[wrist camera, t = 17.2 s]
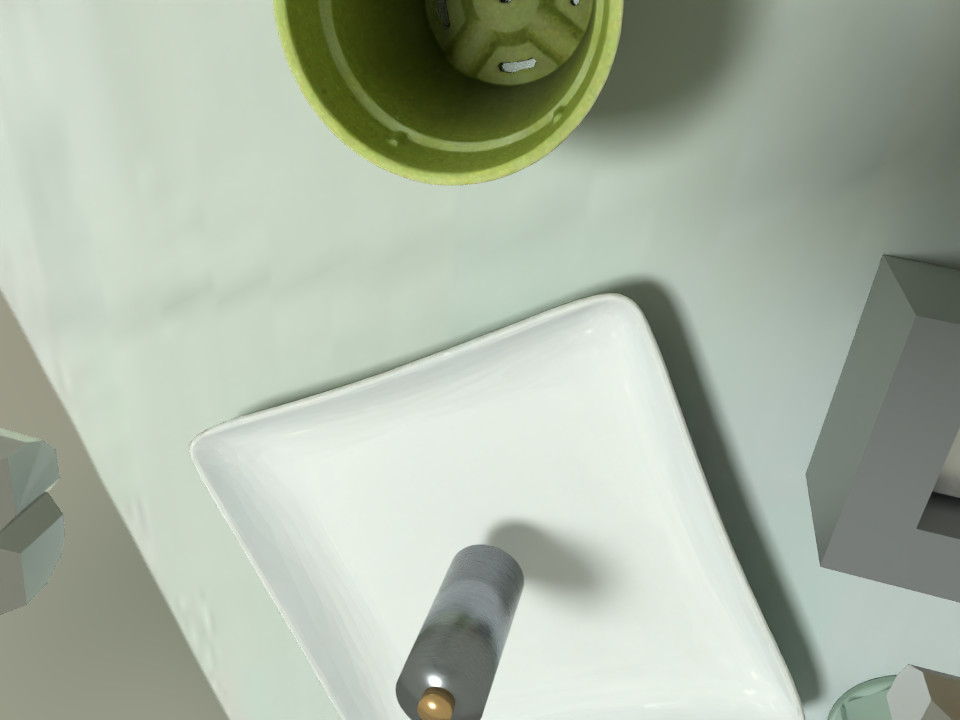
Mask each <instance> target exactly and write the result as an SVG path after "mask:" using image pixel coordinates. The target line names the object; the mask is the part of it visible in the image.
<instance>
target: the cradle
mask: <svg viewBox="0 0 960 720" xmlns="http://www.w3.org/2000/svg"><path fill="white" fill-rule="evenodd" d="M959 428H960V270H957V269H952V268H947V267H942V266H937V265H932V264H927V263H922V262H917V261H912V260H906V259H901V258H896V257H891V256H886V255H883V257H882V259H881V262H880V265H879V268H878V271H877V274H876V276H875V279H874V282H873V285H872V288H871V291H870V293H869V296H868V299H867V302H866V305H865V308H864V311H863V313H862V316H861V319H860V322H859V325H858V328H857V330H856V333H855V336H854V339H853V342H852V345H851V347H850V350H849V353H848V356H847V359H846V362H845V365H844V367H843V370H842V373H841V376H840V379H839V382H838V384H837V387H836V390H835V393H834V396H833V399H832V401H831V404H830V407H829V410H828V413H827V416H826V418H825V421H824V424H823V427H822V430H821V433H820V436H819V438H818V441H817V444H816V447H815V450H814V453H813V455H812V458H811V461H810V464H809V467H808V470H807V472H806V479H807V486H808V492H809V498H810V505H811V511H812V517H813V524H814V530H815V536H816V543H817V549H818V555H819V562H820V567H824V568H828V569H831V570H835V571H839V572H843V573H847V574H851V575H855V576H859V577H863V578H866V579H870V580H874V581H878V582H882V583H886V584H890V585H894V586H898V587H902V588H905V589H909V590H913V591H917V592H921V593H925V594H929V595H933V596H937V597H941V598H944V599H948V600H952V601H956V602H960V498H958V497H954V496H950V495H945V494H941V493H937V492H933V488H934V486H935V484H936V481H937V479H938V477H939V474H940V472H941V470H942V467H943V465H944V463H945V461H946V458H947V456H948V454H949V451H950V449H951V447H952V444H953V442H954V440H955V437H956V435H957V433H958V430H959Z"/></svg>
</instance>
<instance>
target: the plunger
mask: <svg viewBox="0 0 960 720" xmlns="http://www.w3.org/2000/svg"><path fill="white" fill-rule="evenodd" d="M933 492H937V493H941V494H945V495H950V496H954V497H958V498H960V428H959V430H958V433H957V435H956V437H955V440H954V442H953V444H952V447H951V449H950V451H949V454H948V456H947V458H946V461H945V463H944V465H943V467H942V470H941V472H940V474H939V477H938V479H937V481H936V484H935V486H934V488H933Z"/></svg>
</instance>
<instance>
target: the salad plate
mask: <svg viewBox="0 0 960 720" xmlns="http://www.w3.org/2000/svg"><path fill="white" fill-rule="evenodd" d="M189 451H190V456H191V459H192V461H193V463H194V466H195V468H196V469H197V471H198V473H199V475H200V477H201V479H202V481H203V483H204V484H205V486H206V488H207V489H208V491H209V493H210V495H211V496H212V498H213V500H214V502H215V504H216V505H217V507H218V509H219V510H220V512H221V514H222V515H223V517H224V519H225V520H226V522H227V524H228V525H229V527H230V529H231V530H232V532H233V534H234V535H235V537H236V539H237V540H238V542H239V544H240V545H241V547H242V549H243V550H244V552H245V554H246V555H247V557H248V559H249V561H250V562H251V564H252V566H253V567H254V569H255V571H256V572H257V574H258V576H259V578H260V579H261V581H262V583H263V584H264V586H265V588H266V589H267V591H268V593H269V594H270V596H271V598H272V600H273V601H274V603H275V605H276V607H277V608H278V610H279V612H280V614H281V615H282V617H283V619H284V620H285V622H286V624H287V625H288V627H289V629H290V631H291V632H292V634H293V636H294V637H295V639H296V641H297V642H298V644H299V646H300V648H301V649H302V651H303V653H304V655H305V656H306V658H307V660H308V662H309V663H310V665H311V667H312V669H313V670H314V672H315V674H316V676H317V677H318V679H319V681H320V683H321V684H322V686H323V688H324V689H325V691H326V693H327V695H328V696H329V698H330V700H331V702H332V704H333V705H334V707H335V709H336V711H337V712H338V714H339V716H340V718H341V719H342V720H411V719H410V718H409V717H408V716H407V715H406V714H405V712H404V711H403V710H402V708H401V707H400V705H399V703H398V700H397V697H396V683H397V680H398V678H399V676H400V674H401V671H402V669H403V667H404V665H405V663H406V660H407V658H408V656H409V654H410V652H411V649H412V647H413V645H414V643H415V641H416V639H417V636H418V634H419V632H420V630H421V628H422V625H423V623H424V621H425V619H426V617H427V615H428V612H429V610H430V608H431V606H432V604H433V601H434V599H435V597H436V595H437V593H438V590H439V588H440V586H441V584H442V582H443V580H444V577H445V575H446V573H447V571H448V569H449V566H450V564H451V562H452V560H453V558H454V556H455V555H456V554H457V553H458V552H459V551H460V550H462V549H463V548H465V547H468V546H471V545H477V544H483V545H490V546H494V547H497V548H499V549H501V550H503V551H505V552H507V553H508V554H509V555H511V556H512V557H513V558H514V559H515V560H516V561H517V563H518V564H519V566H520V568H521V569H522V572H523V575H524V588H523V591H522V594H521V597H520V600H519V603H518V607H517V610H516V613H515V616H514V619H513V622H512V625H511V628H510V631H509V634H508V637H507V641H506V644H505V647H504V650H503V653H502V656H501V659H500V662H499V665H498V668H497V671H496V675H495V678H494V681H493V684H492V687H491V690H490V693H489V696H488V699H487V702H486V705H485V708H484V712H483V715H482V718H481V720H805V714H804V710H803V705H802V703H801V700H800V697H799V694H798V692H797V689H796V686H795V684H794V681H793V679H792V676H791V674H790V672H789V669H788V667H787V665H786V663H785V661H784V659H783V657H782V654H781V652H780V650H779V648H778V646H777V643H776V641H775V639H774V637H773V635H772V633H771V631H770V629H769V627H768V625H767V623H766V620H765V618H764V616H763V614H762V612H761V609H760V607H759V605H758V603H757V601H756V598H755V596H754V594H753V592H752V589H751V587H750V585H749V583H748V580H747V578H746V576H745V573H744V571H743V569H742V566H741V564H740V562H739V560H738V558H737V555H736V553H735V551H734V548H733V546H732V543H731V541H730V539H729V536H728V534H727V531H726V529H725V526H724V524H723V521H722V519H721V516H720V514H719V511H718V508H717V506H716V503H715V501H714V498H713V496H712V493H711V490H710V488H709V485H708V483H707V480H706V477H705V475H704V472H703V470H702V467H701V464H700V462H699V459H698V456H697V453H696V450H695V447H694V444H693V441H692V439H691V436H690V433H689V431H688V429H687V425H686V421H685V419H684V416H683V413H682V410H681V407H680V404H679V402H678V399H677V396H676V393H675V390H674V387H673V384H672V381H671V379H670V376H669V373H668V370H667V367H666V364H665V362H664V359H663V357H662V354H661V352H660V349H659V346H658V344H657V341H656V339H655V336H654V334H653V331H652V329H651V327H650V325H649V323H648V321H647V319H646V317H645V315H644V313H643V311H642V310H641V308H640V307H639V306H638V305H637V304H636V303H635V301H633V300H632V299H631V298H629V297H627V296H624V295H622V294H617V293H604V294H597V295H593V296H590V297H586V298H582V299H579V300H575V301H572V302H570V303H567V304H564V305H561V306H558V307H556V308H553V309H550V310H547V311H544V312H542V313H539V314H536V315H534V316H531V317H529V318H526V319H524V320H521V321H519V322H517V323H514V324H511V325H509V326H506V327H503V328H501V329H498V330H496V331H493V332H491V333H488V334H485V335H483V336H480V337H478V338H475V339H473V340H470V341H467V342H465V343H462V344H460V345H457V346H454V347H452V348H449V349H446V350H443V351H441V352H438V353H435V354H433V355H430V356H427V357H424V358H422V359H419V360H416V361H414V362H411V363H408V364H405V365H403V366H400V367H397V368H394V369H392V370H389V371H386V372H384V373H381V374H378V375H375V376H372V377H369V378H366V379H363V380H360V381H357V382H354V383H351V384H348V385H345V386H342V387H339V388H336V389H333V390H330V391H326V392H323V393H320V394H316V395H313V396H310V397H307V398H304V399H301V400H298V401H294V402H291V403H287V404H284V405H280V406H277V407H273V408H270V409H266V410H262V411H259V412H255V413H252V414H248V415H245V416H241V417H238V418H234V419H231V420H228V421H225V422H222V423H220V424H218V425H216V426H213V427H211V428H209V429H207V430H205V431H203V432H201V433H200V434H198V435H197V436H196V437H195V438H194V439H193V440H192V441H191V443H190V447H189Z"/></svg>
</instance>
